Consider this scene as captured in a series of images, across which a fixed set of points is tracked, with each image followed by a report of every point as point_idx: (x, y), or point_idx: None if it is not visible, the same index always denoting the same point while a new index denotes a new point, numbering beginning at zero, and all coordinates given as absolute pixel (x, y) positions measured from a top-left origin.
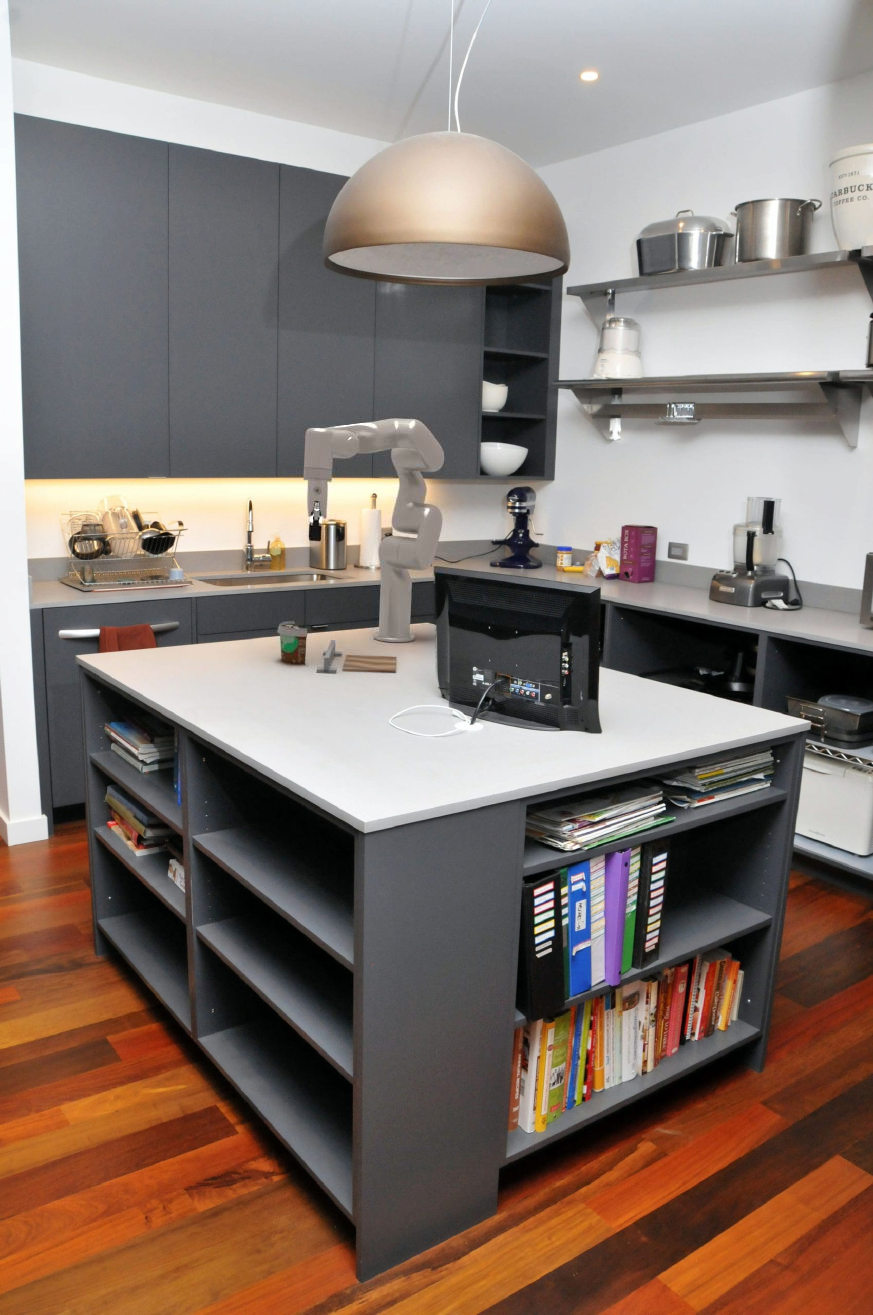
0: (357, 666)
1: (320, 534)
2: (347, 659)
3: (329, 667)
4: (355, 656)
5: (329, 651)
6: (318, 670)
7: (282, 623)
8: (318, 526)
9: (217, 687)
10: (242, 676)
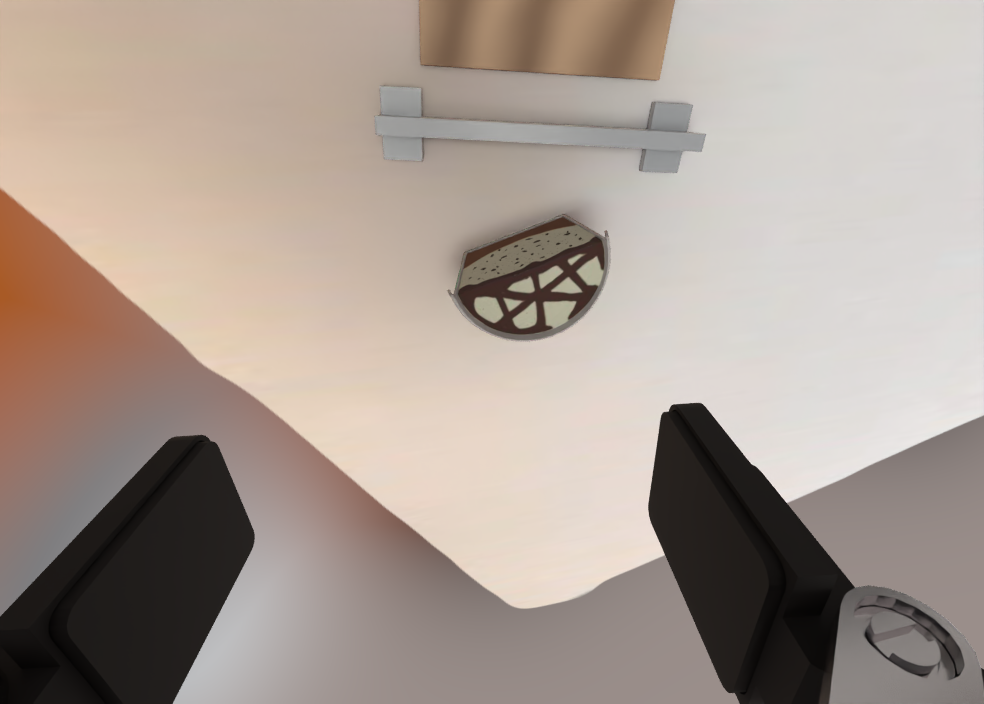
0: (626, 15)
1: (740, 465)
2: (508, 59)
3: (651, 129)
4: (449, 22)
5: (598, 135)
6: (677, 166)
7: (495, 334)
8: (863, 608)
9: (796, 389)
10: (700, 356)
